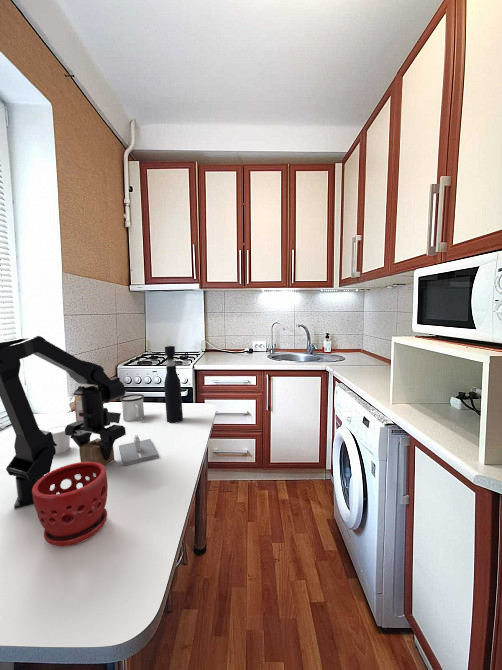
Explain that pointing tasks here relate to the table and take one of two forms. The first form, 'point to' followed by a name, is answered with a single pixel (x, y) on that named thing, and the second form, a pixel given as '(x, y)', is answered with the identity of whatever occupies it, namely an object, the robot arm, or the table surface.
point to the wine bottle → (172, 389)
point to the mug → (132, 407)
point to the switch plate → (137, 451)
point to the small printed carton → (78, 410)
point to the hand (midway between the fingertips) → (97, 458)
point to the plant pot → (72, 503)
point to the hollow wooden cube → (94, 453)
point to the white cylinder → (60, 439)
